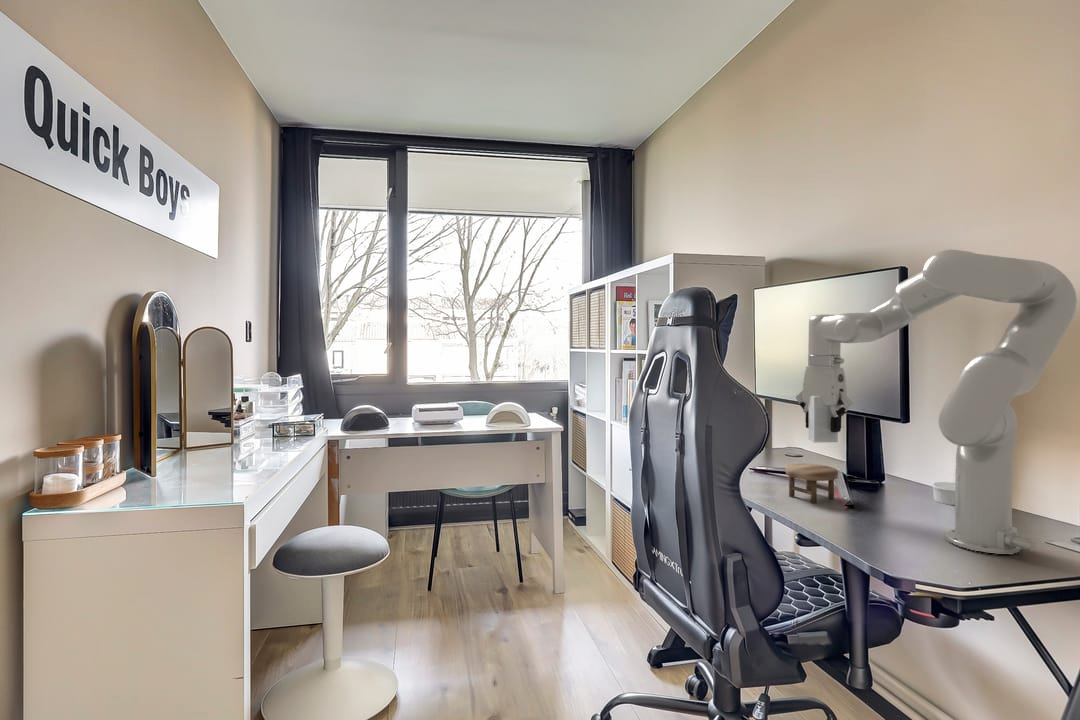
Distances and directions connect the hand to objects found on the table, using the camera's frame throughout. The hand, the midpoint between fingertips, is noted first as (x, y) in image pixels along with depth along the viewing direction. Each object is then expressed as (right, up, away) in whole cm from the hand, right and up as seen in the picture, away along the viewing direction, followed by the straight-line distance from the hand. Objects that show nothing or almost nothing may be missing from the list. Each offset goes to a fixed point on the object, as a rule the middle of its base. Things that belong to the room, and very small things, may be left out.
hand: (822, 429), depth 150 cm
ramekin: (+35, -20, +1) cm, 40 cm away
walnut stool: (+1, -20, +7) cm, 21 cm away
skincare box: (0, -3, 0) cm, 3 cm away
